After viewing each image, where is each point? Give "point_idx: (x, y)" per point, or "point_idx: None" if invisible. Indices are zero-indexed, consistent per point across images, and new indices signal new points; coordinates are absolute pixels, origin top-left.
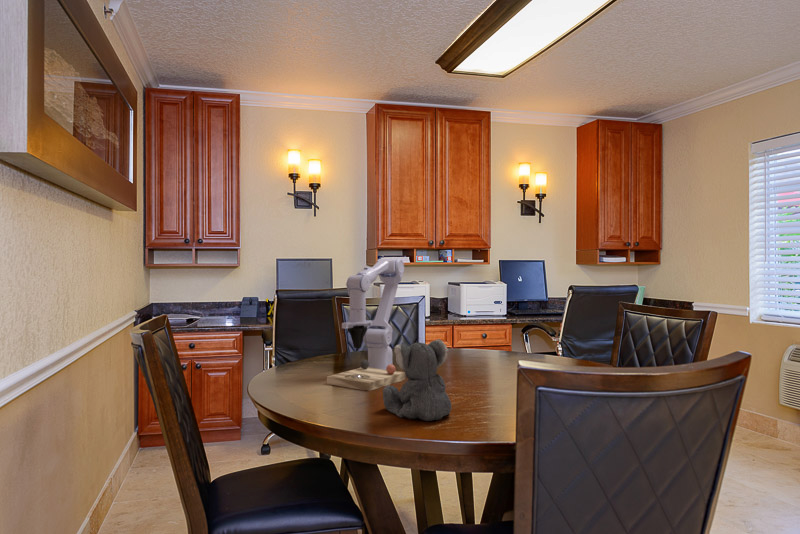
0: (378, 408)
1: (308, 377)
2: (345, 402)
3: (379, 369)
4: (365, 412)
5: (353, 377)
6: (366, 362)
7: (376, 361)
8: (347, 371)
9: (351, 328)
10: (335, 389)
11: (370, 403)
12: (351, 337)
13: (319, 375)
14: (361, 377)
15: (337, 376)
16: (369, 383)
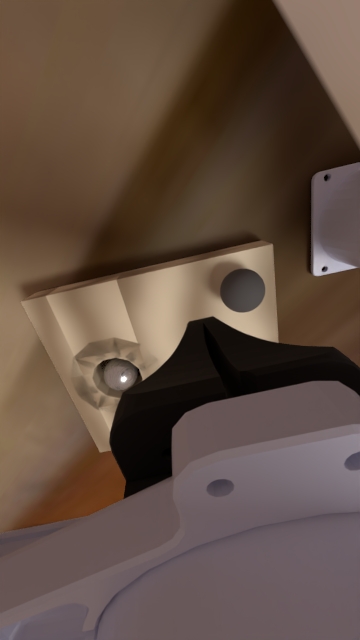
0: (45, 518)
1: (7, 105)
2: (3, 468)
3: (266, 335)
4: (12, 522)
5: (105, 372)
6: (240, 312)
7: (350, 256)
8: (144, 280)
9: (130, 486)
10: (32, 370)
11: (49, 495)
12: (171, 356)
13: (79, 103)
14: (126, 388)
15: (58, 332)
16: (101, 450)
